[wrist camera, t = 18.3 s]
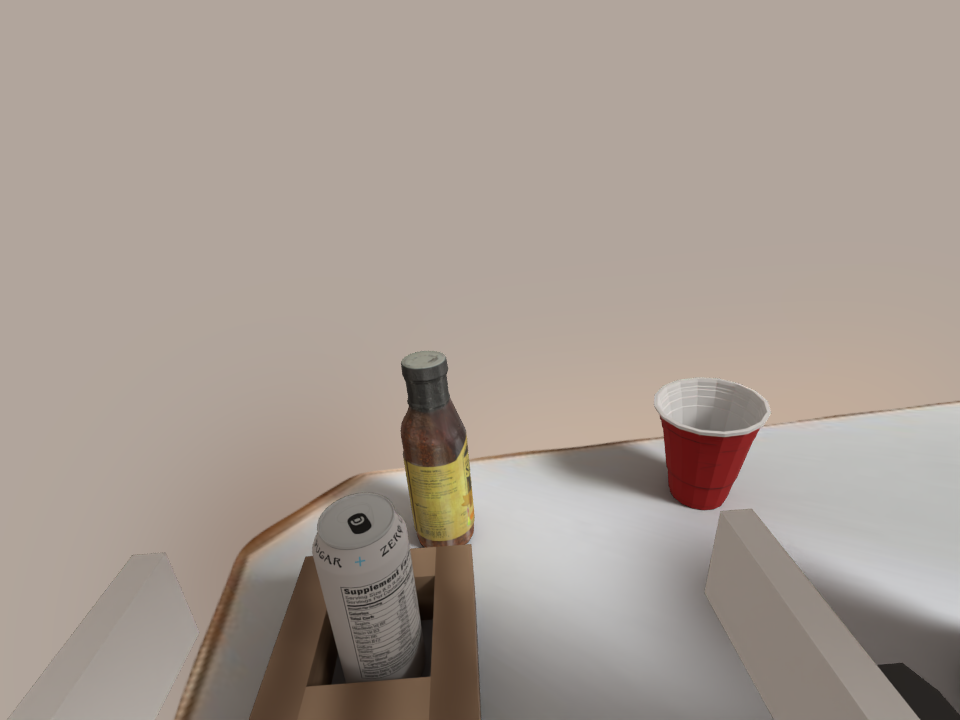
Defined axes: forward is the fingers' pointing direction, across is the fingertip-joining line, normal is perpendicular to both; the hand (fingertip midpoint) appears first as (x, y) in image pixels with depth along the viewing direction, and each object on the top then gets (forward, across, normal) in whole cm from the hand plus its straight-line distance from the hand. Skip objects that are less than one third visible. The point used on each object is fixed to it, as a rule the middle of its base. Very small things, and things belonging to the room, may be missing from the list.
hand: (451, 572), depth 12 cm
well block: (+16, -7, -28) cm, 33 cm away
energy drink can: (+16, -7, -27) cm, 32 cm away
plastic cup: (+34, +25, -28) cm, 51 cm away
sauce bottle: (+31, -3, -28) cm, 42 cm away
